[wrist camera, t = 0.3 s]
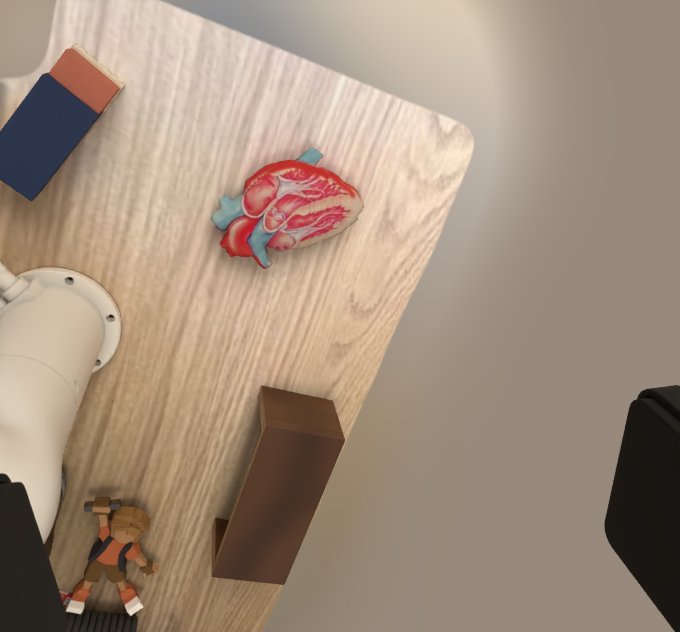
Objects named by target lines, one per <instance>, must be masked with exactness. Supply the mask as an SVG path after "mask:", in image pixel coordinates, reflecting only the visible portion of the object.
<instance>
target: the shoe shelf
mask: <svg viewBox="0 0 680 632" xmlns="http://www.w3.org/2000/svg"><path fill="white" fill-rule="evenodd" d="M258 402H259V411H260V421H261V430H262V431H261V433H260V436H259V439H258V442H257V445H256V447H255V450H254V453H253V456H252V459H251V461H250V464H249V467H248V470H247V472H246V475H245V478H244V481H243V484H242V486H241V489H240V492H239V495H238V498H237V500H236V503H235V506H234V509H233V511H232V514H231V517H230V520H224V519H217V518H215V521H214V524H213V527H212V577H217V578H226V579H235V580H245V581H254V582H263V583H272V584H281V585H284V584H285V582H286V580H287V577H288V575H289V572H290V570H291V568H292V565H293V563H294V561H295V558H296V556H297V553H298V551H299V549H300V546H301V543H302V542H303V539H304V537H305V534H306V532H307V530H308V527H309V525H310V522H311V520H312V518H313V515H314V513H315V511H316V508H317V506H318V503H319V501H320V499H321V496H322V494H323V492H324V489H325V487H326V484H327V482H328V480H329V477H330V475H331V473H332V470H333V468H334V465H335V463H336V461H337V458H338V456H339V454H340V451H341V449H342V446H343V444H344V442H345V438H344V435H343V432H342V429H341V426H340V422H339V419H338V416H337V413H336V409H335V406H334V403H333V401H332V400H327V399H322V398H318V397H313V396H308V395H303V394H299V393H294V392H289V391H284V390H280V389H275V388H270V387H265V386H261V389H260V392H259V395H258Z"/></svg>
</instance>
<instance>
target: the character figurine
mask: <svg viewBox="0 0 680 632" xmlns="http://www.w3.org/2000/svg"><path fill="white" fill-rule="evenodd" d="M121 505H122V504H121V499H116V500H110V497H95V500H94V501H89V502H85V504H84V510H85V512H89V511H92V512H94V515H99V516H100V529H99V537H100V540H99V541H98V542H96V543H95V544H94V545H93V547H92V550H91V552H90V555H89V558H88V560H89V561H90V562H89V563H88V565H87V567H86V569H85V572H84V579H85V580H84V581H81V582H80V583H79V584H78V585H77V586H76V587H75V589H74V592H73V595H72V599H71V600H70V602H69V604H68V607H67V609H66V611H67V612H72V613H78V614H81V613H82V611H83V609H84V603H85V601H86V599H87V597H88V595H89V593H90V591H91V587H92V584H93V582H97V581H98V580H99V578H100V577H101V574H102V572H103V570H104V569H105V572H106V574H107V577H108V579H109V580H110V581H111V582H113V583H116V584H117V586H118V587H119V588H118V589H119V594H120V597H121V599H122V600H123V602H124V605H125V608H126V611H127V612H128V613H129V614H130V616H131V615H133V614H134V613H136V612H137V611H138V610H140V609H141V608H142V607H143V605H142V602H141V600H140V599H139V596H138V593H137V591H136V590H135V589H134V587H133V586H132V585H131V584H130V583H128V582H127V583H126V580H125V578H126V574H127V571H126V563H127V559H129V561H131V560H134V561H135V562H136V563H137V564H139V565H140V566H141V567H140V570H141V571H142V572H143V578H146V576H147V575H150V574H151V575H152V576H153V575H155V574H157V573H158V569H159V566H158V565H156V564H155V563H153V562H152V561H151V559H146V558H145V557H144V556H143V555H142V554H141V553H140V550H141V549H140V544H139V543H138V541H139V540H140V538H141V536H142V534H143V533H144V531H146V530H149V525H150V519H151V518H150V517H149V516H148V515H147V514H146V513H145V512H144V511H143V510H139V509H136V508H135V507H121ZM115 509H116V510H115ZM110 510H115V512H114V513H113V517H112V521H110V520H108V515H109V514H110Z"/></svg>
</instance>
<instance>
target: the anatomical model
mask: <svg viewBox="0 0 680 632" xmlns="http://www.w3.org/2000/svg"><path fill="white" fill-rule="evenodd" d="M322 157H323V154H322V153H320V151H318V150H316V149H313V148H311V149H309V150H307V151H306V152H305V153H304V154H303V155H302V156H300V157H299V158H298V159H296V160H286V161H280V162H277V163H273V164H269V165H266V166H265V167H263V168H262V169H260V170H259V171H257V172H256V173H255V174H254V175H253V176H251V177H250V178H249V179H247V180H246V182H245V187H244V192H243V194H242V195H240V196H238V197H237V198H235V199H233V200H231V199H230V197H229V196H223V197H222V198H220V199H219V204H220V209H219V210H218V211H217V212H214V213H213V214H212V216H211V220H212V222H213V223H214V224H215V226H216V227H217V228H218V229H219V230H224V229H226V231H227V234H226V235H225V236H224V237H223V239H222V240H221V242H220V245H221V247H222V248H226V249H227V251H226V252H227V253H228V254H229V255H230V257H233V256H240V257H250V256H251V257H254V259H255V260H256V261H257V263H258V264H259V265H260V266H261V267H262V268H264V269H266V268H268V267H269V266H270V265H272V262H270V261H269V259H268V258H267V256H266V254H267V250H266V246H268V247H270V248H272V249H274V250H276V251H280V252H283V251H286V250H294V249H299V248H302V247H306V246H310V245H313V244H315V243H317V242H319V241H321V240H326V239H328V238H331V237H333V236H336V235H337V234H339V233H340V232H342V231H343V230H345V229H346V228H348V227H349V226H350V225H351V224H353V223H354V222H355V221H356V220H358V219H357V217H358V215H359V214H360V213H361V212H362V210H363V208H364V203H363V200H362V198H361V196H360V195H359V193H358V191H357V190H356V189H355V188H354V187H352V186H351V185H349V184H347V183H346V182H344V181H343V180H342V179H341V178H340V177H339V176H337V175H336V174H334V173H333V172H331V171H329V170H327V169H324V168H323V167H320V166H318V165H316V164H317V163H318V162H319V160H320V159H321V158H322Z"/></svg>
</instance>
